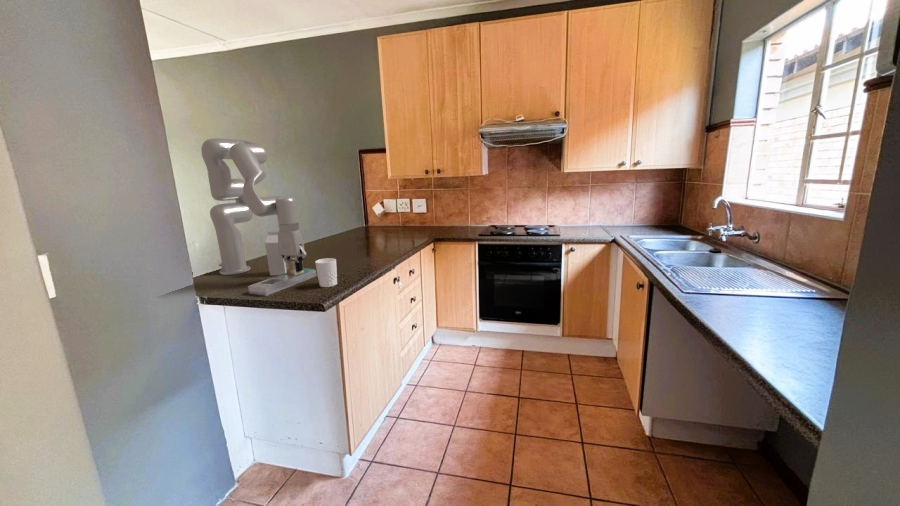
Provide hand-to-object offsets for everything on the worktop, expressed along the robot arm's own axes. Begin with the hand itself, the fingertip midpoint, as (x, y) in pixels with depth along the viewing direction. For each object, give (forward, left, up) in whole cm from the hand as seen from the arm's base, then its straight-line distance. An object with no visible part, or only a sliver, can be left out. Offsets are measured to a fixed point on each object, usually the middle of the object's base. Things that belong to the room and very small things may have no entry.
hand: (295, 270), depth 152 cm
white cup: (+18, -1, -5) cm, 19 cm away
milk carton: (-15, +6, -5) cm, 17 cm away
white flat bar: (0, -6, -4) cm, 7 cm away
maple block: (0, 0, -3) cm, 3 cm away
